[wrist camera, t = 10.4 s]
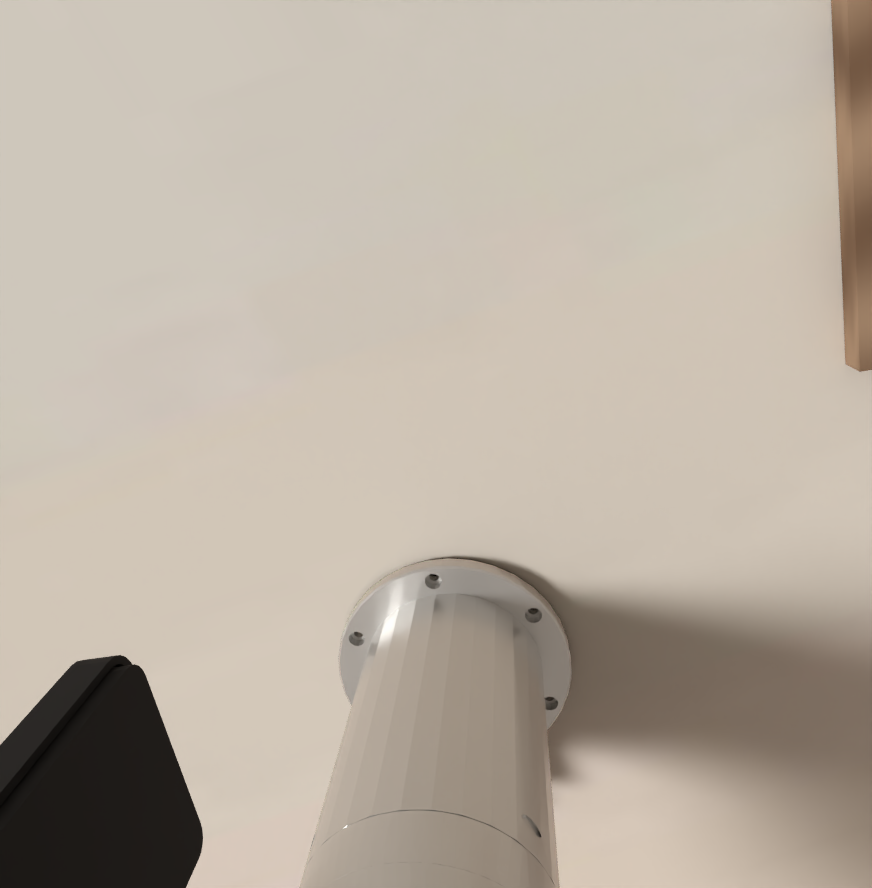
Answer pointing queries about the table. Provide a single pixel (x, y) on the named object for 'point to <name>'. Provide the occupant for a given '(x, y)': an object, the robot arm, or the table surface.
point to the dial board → (855, 171)
